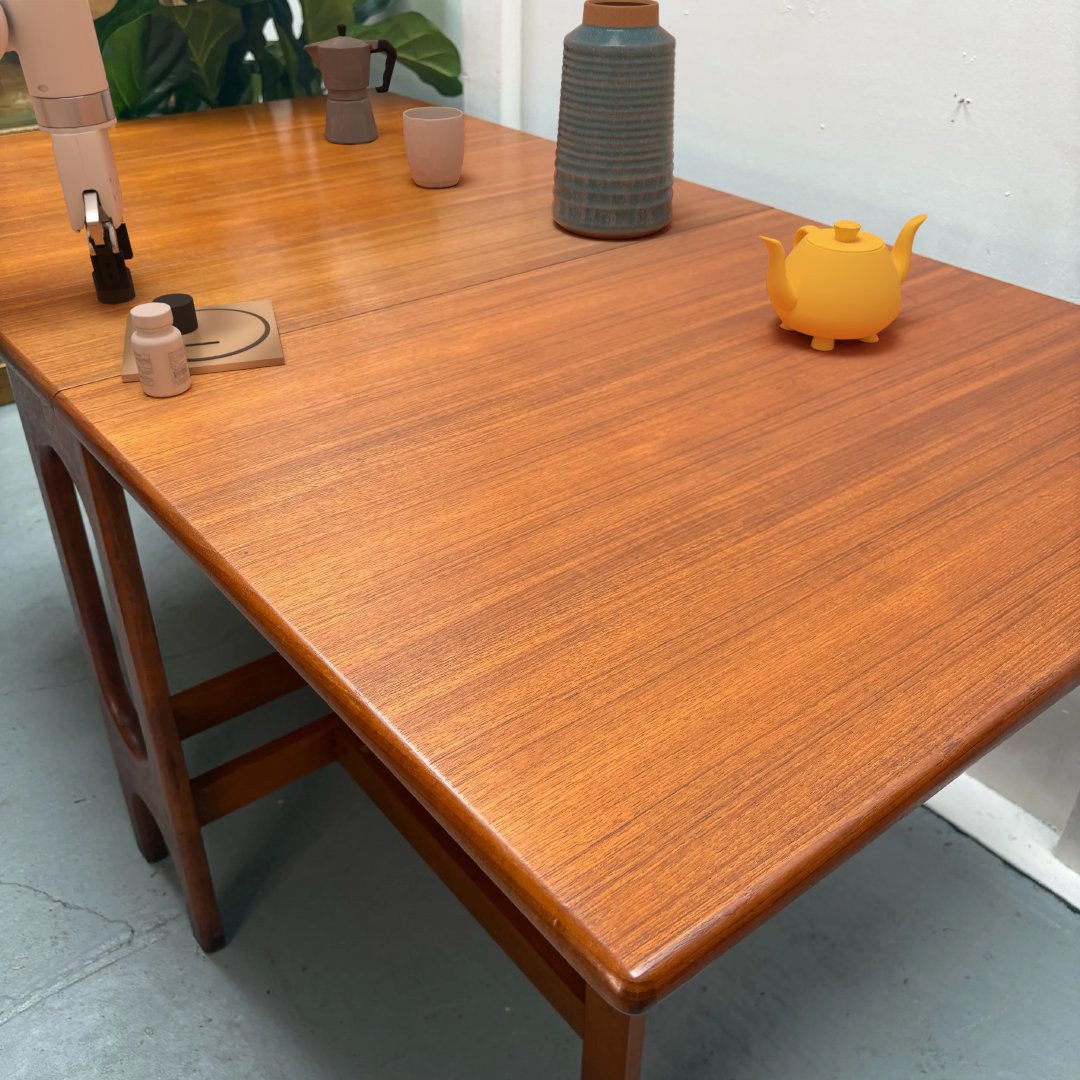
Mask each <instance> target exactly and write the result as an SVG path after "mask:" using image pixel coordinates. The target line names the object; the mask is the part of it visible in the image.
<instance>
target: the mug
mask: <svg viewBox="0 0 1080 1080" xmlns="http://www.w3.org/2000/svg"><path fill="white" fill-rule="evenodd" d="M402 129H403V131H402V132H403V142H404V143H403V144H404V149H405V155H406V160H407V165H408V168H409V171H410V175H411V177H412V179H413V181H414V183H415V184H416V185H417V186H419V187H422V188H428V189H439V188H440V189H441V188H448V187H452V186H455V185H457V184H458V183H459V180H460V178H461V174H462V171H463V164H464V158H465V142H466V141H465V140H466V138H465V136H466V135H465V117H464V112H463V111H462V110H461V109H458V108H456V107H450V106H423V107H413V108H410V109H406V110H405V111H403V112H402Z"/></svg>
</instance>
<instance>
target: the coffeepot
mask: <svg viewBox="0 0 1080 1080" xmlns="http://www.w3.org/2000/svg"><path fill="white" fill-rule="evenodd" d="M335 28H336V30H337V34H338V36H335V37H332V38H329V39H325V40H321V41H316V42H312V43H309V44H305V45H304V46H303V51H306V52H307V53H308V55H309V56H310V57H311V59H312V60H313V62H314V64H315V65H316V67H317V68H318V69H319V71H320V74H321V78H322V82H323V86H324V88H326V89H327V99H326V104H325V105H326V107H325V126H324V128H325V129H324V138H325V140H326V141H327V142H329V143H332V144H336V145H361V144H362V145H363V144H368V143H371V142H375V141H376V140H377V139H378V138H379V132H378V129H377V128H378V127H377V124H376V119H375V115H374V112H373V107H372V103H371V100H370V98H369V97H368V90H367V88H368V87H370V81H371V79H370V77H371V59H372V54H378V53H382V52H385V53H386V58H385V63H384V71H383V73H382V85H380V86H375V87H374V89H375V91H376V93H377V94H384V93H388V91H389V89H390V85H391V83H392V81H391V80H392V78H393V73H394V70H395V66H396V61H397V58H398V52H397V49H396V48H395V46H394V45H393V44H392V43H391V42H390V41H389V40H388V39H368V40H367V39H366V40H362V39H360V38H359V39H358V38H355V37H351V36H347V24H343V23H339V24H337V25H336V27H335Z"/></svg>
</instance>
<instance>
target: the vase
mask: <svg viewBox="0 0 1080 1080" xmlns="http://www.w3.org/2000/svg"><path fill="white" fill-rule="evenodd" d="M582 11H583V12H582V20H581V21H582V22H581V23H580V24H579V25H578V26H576V27H574V29H572V30H571V31H570V32H568V33H567V34H566V35H564V38H563V42H562V44H563V45H562V47H563V50H562V66H561V77H560V79H561V82H560V91H559V94H560V95H559V107H558V120H557V135H556V139H557V140H556V148H555V153H554V154H555V159H554V163H553V165H554V172H553V185H552V197H553V199H552V203H551V212H550V213H551V217H552V219H553V220H554V221H555V222H556V223H557V224H558V225H559V226H561V227H562V228H563V229H565V230H566V231H568V232H571V233H574V234H576V235H579V236H585V237H589V238H595V239H607V240H608V239H609V240H623V239H624V240H625V239H634V238H640V237H645V236H649V235H652V234H655V233H657V232H659V231H661V230H662V229H663V228H665V227H666V226H667V225H669V224H670V222H671V221H672V220H673V216H674V214H673V213H674V206H673V199H674V188H673V185H674V182H675V177H674V170H675V162H674V158H675V153H674V148H675V145H674V140H675V137H674V135H675V103H676V100H675V96H676V91H675V90H676V89H675V87H676V82H675V81H676V55H677V53H676V49H677V40H676V37H675V36H674V35H672V33H670V32H669V31H668V30H666V29H665V28H664V27H663V26H662V25H660V3H659V2H658V1H656V0H585V1H584V2H583V10H582Z"/></svg>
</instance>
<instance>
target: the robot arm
mask: <svg viewBox="0 0 1080 1080" xmlns="http://www.w3.org/2000/svg"><path fill="white" fill-rule="evenodd" d="M8 52H15V53H16V54H17V55H18V59H19V63H20V66H21V70H22V73H23V77H24V81H25V83H26V87H27V91H28V94H29V97H30V101H31V105H32V109H33V112H34V115H35V119H36V122H37V127H38V130H39V131H41V132H42V133H46V134H50V139H51V145H52V151H53V156H54V161H55V165H56V170H57V174H58V178H59V183H60V186H61V190H62V194H63V198H64V202H65V207H66V211H67V215H68V219H69V224H70V228H71V230H72V231H73V232H75V233H76V234H80V233H81V231H82V230H84V229H85V233H86V239H87V244H88V249H89V259H90V262H91V265H92V269H93V271H94V273H95V277H96V280H97V284H98V288H99V290H100V291H112V290H121V289H128V288H130V280H129V276H128V272H127V268H126V267H127V265H126V264H127V263H126V261H128V260H132V259H133V258H134V251H133V248H132V245H131V240H130V236H129V231H128V228H127V224H126V222H124V217H123V215H124V200H123V194H122V190H121V189H122V188H121V183H120V177H119V173H118V168H117V163H116V159H115V156H114V151H113V147H112V143H111V139H110V135H109V132H108V128H111V127H113V126H115V125H116V124H117V123H118V119H117V115H116V110H115V107H114V102H113V97H112V94H111V91H110V87H109V86H110V85H109V81H108V78H107V73H106V70H105V69H106V68H105V64H104V61H103V57H102V53H101V50H100V45H99V40H98V37H97V32H96V28H95V24H94V19H93V15H92V10H91V7H90V3H89V0H0V61H1V60H2V59H3V57H4V55H5V53H8Z"/></svg>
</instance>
